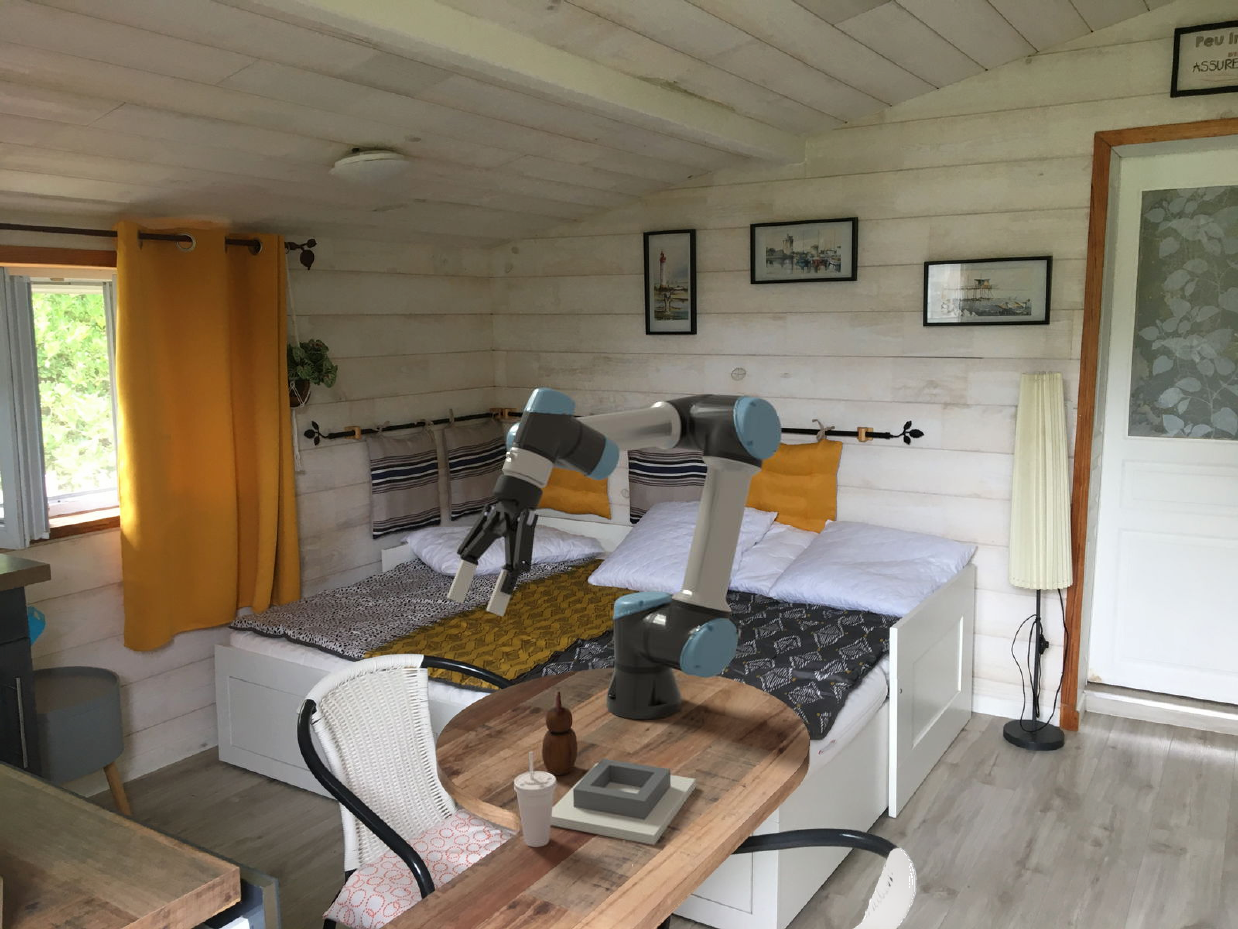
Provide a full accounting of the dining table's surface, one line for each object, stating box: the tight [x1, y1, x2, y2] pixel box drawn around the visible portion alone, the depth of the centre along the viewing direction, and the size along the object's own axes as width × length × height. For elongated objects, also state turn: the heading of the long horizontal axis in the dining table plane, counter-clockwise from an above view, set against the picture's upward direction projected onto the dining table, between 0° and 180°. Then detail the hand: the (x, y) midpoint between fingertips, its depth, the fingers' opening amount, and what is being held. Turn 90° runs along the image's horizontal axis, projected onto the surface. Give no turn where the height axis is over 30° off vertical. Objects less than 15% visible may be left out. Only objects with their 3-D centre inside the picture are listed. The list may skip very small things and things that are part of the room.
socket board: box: [551, 757, 697, 846], centre depth 165 cm, size 20×18×4 cm
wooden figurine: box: [541, 691, 578, 776], centre depth 177 cm, size 7×6×15 cm
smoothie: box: [513, 750, 557, 848], centre depth 153 cm, size 6×6×14 cm
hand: (473, 607), depth 160 cm, fingers open, 13 cm apart
